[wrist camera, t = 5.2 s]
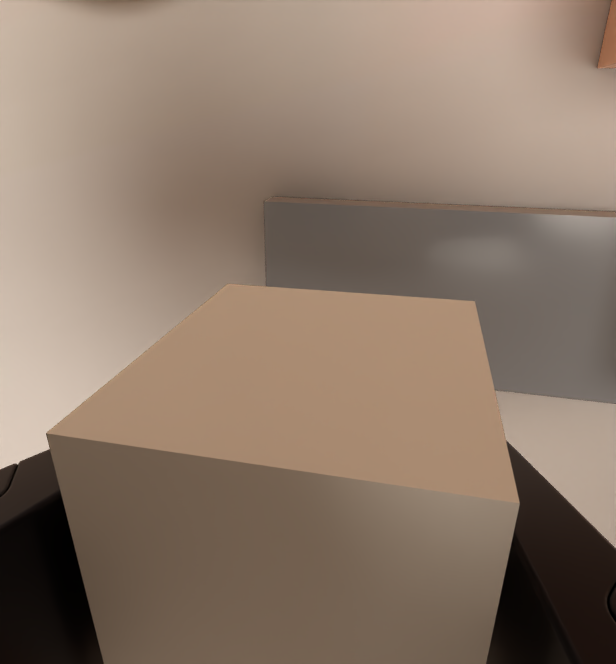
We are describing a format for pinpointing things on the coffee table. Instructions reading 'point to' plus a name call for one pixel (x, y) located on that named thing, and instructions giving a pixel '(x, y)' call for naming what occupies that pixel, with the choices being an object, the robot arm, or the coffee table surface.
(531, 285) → the slate board
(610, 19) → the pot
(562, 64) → the coffee table surface
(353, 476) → the block
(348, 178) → the coffee table surface
